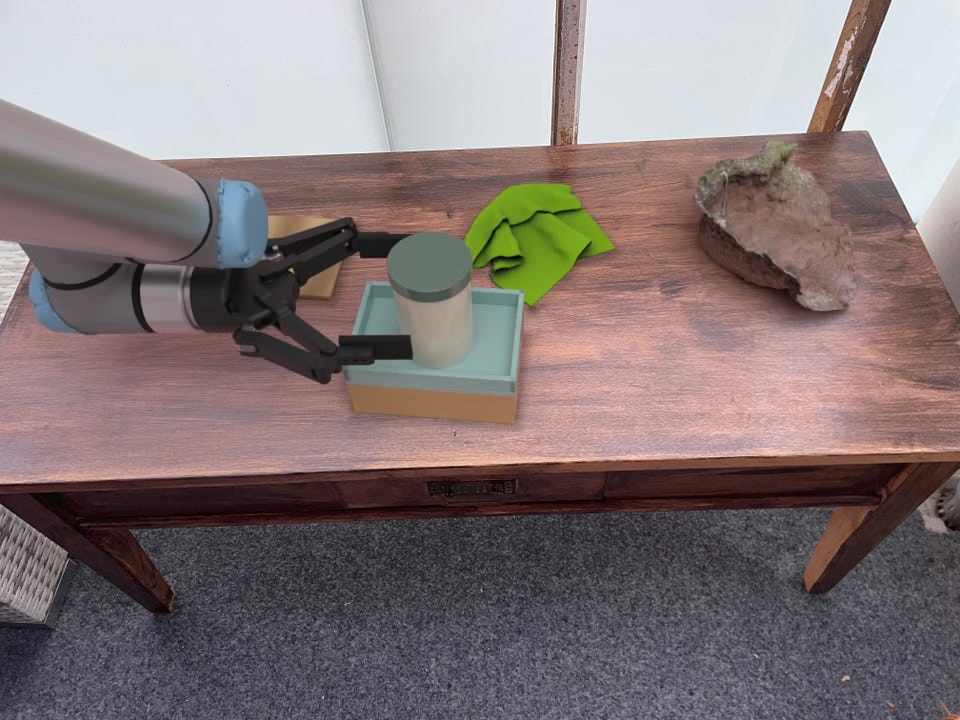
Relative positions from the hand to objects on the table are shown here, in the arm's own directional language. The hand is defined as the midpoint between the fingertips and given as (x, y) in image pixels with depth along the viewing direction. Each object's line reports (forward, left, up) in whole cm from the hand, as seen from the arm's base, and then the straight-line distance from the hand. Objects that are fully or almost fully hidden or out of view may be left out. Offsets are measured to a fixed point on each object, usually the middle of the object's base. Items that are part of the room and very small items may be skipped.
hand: (417, 293), depth 71 cm
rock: (+40, +22, -13) cm, 47 cm away
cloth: (+10, +22, -13) cm, 27 cm away
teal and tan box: (+2, 0, -12) cm, 13 cm away
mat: (-22, +17, -12) cm, 31 cm away
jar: (+2, 0, -7) cm, 7 cm away
